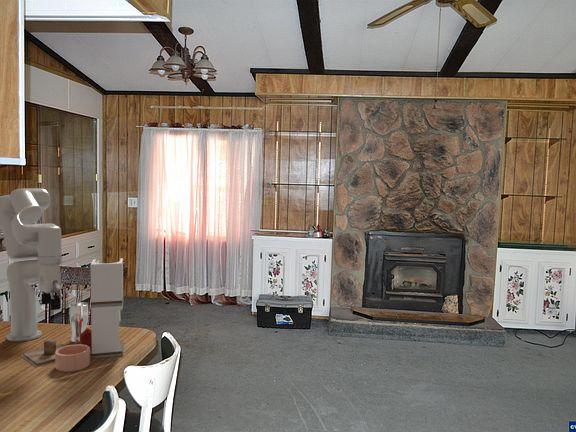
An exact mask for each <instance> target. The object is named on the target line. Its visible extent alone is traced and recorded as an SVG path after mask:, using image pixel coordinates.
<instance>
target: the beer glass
mask: <svg viewBox="0 0 576 432" xmlns="http://www.w3.org/2000/svg"><path fill="white" fill-rule="evenodd" d="M88 321H89V305H88V302H85V301H84V302H83V301H79V302H73V303H71V304H70V305H69V322H70V323H69V324H70V328H71V340H70V341H71V342H72V343H81V342H80V335H81V334H82V332H83V331H85V330H86V327H88V323H89V322H88Z"/></svg>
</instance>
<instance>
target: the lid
mask: <svg viewBox="0 0 576 432" xmlns="http://www.w3.org/2000/svg"><path fill="white" fill-rule="evenodd" d="M64 346H66V345H65V344H63V343H60V344H57V340H56V339H53V338H52V339H46V340H44V341H43V347H42V348H38V349H34V350H29V351H25V352H23V353H22V355H23V356H24V357H25V358H27V359H28V360H29V361H31V362H32V363H33V364H35V365H36V366H39V367H41V366H40V365H43V366H45V365H44V364H46V365H49V364H48V363H50V364H53V363H52V362H54V363H55V352H56V350H57V349H59V348H61V347H64ZM25 358H24V359H25Z"/></svg>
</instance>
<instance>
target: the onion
mask: <svg viewBox="0 0 576 432" xmlns="http://www.w3.org/2000/svg"><path fill="white" fill-rule="evenodd" d="M79 343H80V344H81V345H87V346H89V347H90V348H91V347H92V329H90V328H89V327H88V326H87V327H86V330H85V331H83V332H82V334H81V335H80V342H79Z"/></svg>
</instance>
